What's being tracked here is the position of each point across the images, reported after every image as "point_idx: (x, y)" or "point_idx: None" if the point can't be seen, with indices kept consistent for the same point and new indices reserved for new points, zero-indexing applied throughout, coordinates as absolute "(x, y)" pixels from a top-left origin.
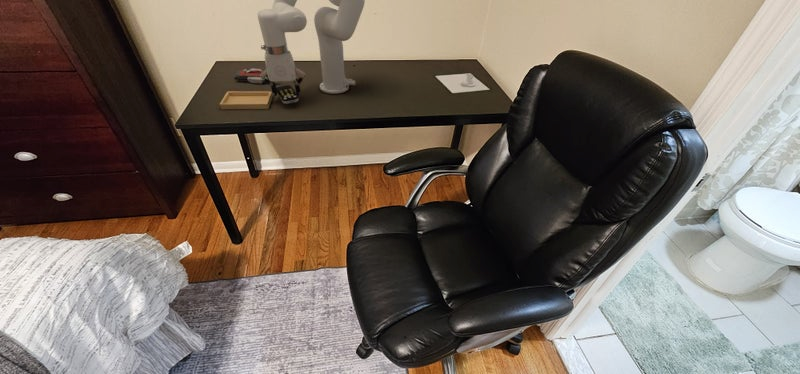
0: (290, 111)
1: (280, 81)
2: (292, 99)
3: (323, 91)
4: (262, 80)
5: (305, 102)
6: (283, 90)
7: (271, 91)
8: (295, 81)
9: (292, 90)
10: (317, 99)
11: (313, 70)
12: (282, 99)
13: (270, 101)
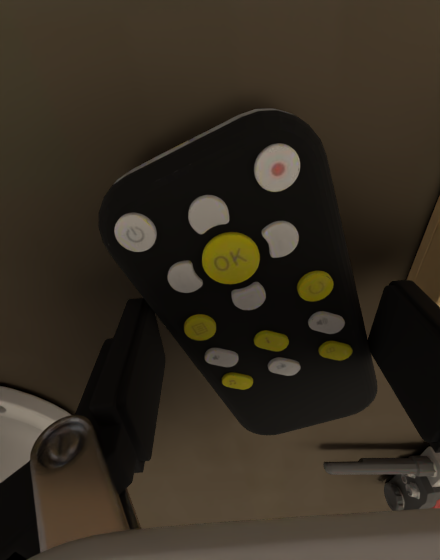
0: (202, 30)
1: (422, 511)
2: (159, 160)
3: (38, 398)
4: (429, 466)
5: (104, 262)
6: (308, 364)
7: None
8: (64, 508)
9: (210, 366)
10: (27, 311)
11: (182, 517)
12: (321, 149)
13: (422, 255)
